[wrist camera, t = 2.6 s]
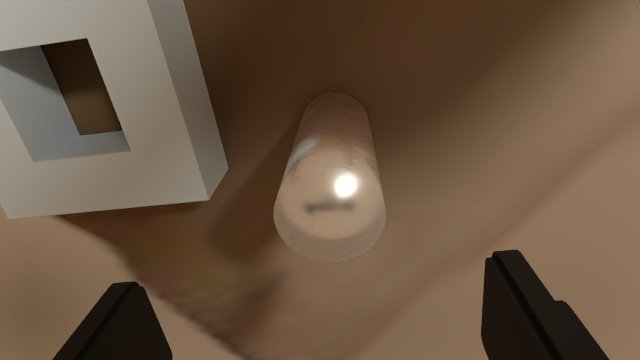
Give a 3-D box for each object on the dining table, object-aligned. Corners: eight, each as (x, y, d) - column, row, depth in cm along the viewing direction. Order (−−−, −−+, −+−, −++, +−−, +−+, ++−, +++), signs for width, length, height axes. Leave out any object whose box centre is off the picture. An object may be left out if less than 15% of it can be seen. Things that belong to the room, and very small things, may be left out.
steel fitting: (366, 87, 21) (382, 161, 12) (371, 153, 23) (389, 258, 14) (296, 96, 22) (262, 173, 13) (306, 160, 24) (284, 266, 15)
